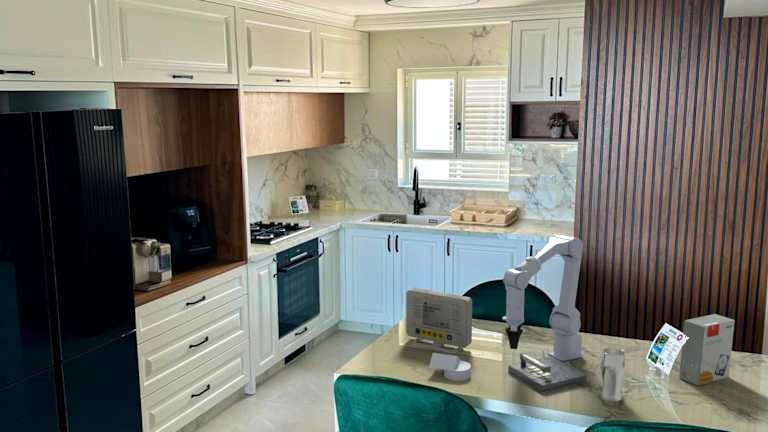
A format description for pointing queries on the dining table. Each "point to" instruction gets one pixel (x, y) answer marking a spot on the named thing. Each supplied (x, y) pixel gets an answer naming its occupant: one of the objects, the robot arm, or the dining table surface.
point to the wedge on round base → (451, 366)
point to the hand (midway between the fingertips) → (514, 344)
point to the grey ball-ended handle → (535, 363)
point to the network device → (439, 319)
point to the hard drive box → (706, 349)
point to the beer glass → (612, 373)
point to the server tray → (547, 374)
